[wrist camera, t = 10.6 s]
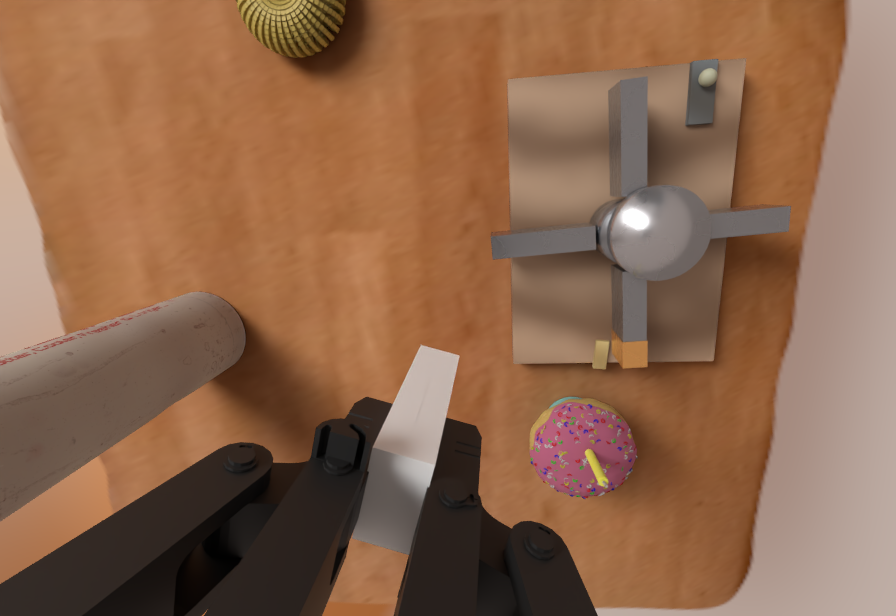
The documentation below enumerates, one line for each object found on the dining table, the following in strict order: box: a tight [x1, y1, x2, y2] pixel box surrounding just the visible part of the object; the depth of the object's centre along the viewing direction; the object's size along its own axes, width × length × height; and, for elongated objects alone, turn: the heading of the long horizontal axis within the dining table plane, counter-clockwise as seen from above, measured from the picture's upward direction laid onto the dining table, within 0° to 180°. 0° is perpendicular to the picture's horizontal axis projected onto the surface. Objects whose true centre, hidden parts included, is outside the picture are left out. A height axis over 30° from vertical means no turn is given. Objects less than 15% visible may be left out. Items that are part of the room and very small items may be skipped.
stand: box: [507, 58, 746, 369], centre depth 33 cm, size 22×16×4 cm
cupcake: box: [529, 397, 637, 499], centre depth 34 cm, size 9×8×12 cm
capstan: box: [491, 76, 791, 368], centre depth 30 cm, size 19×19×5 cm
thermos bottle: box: [0, 292, 246, 521], centre depth 28 cm, size 8×8×28 cm
